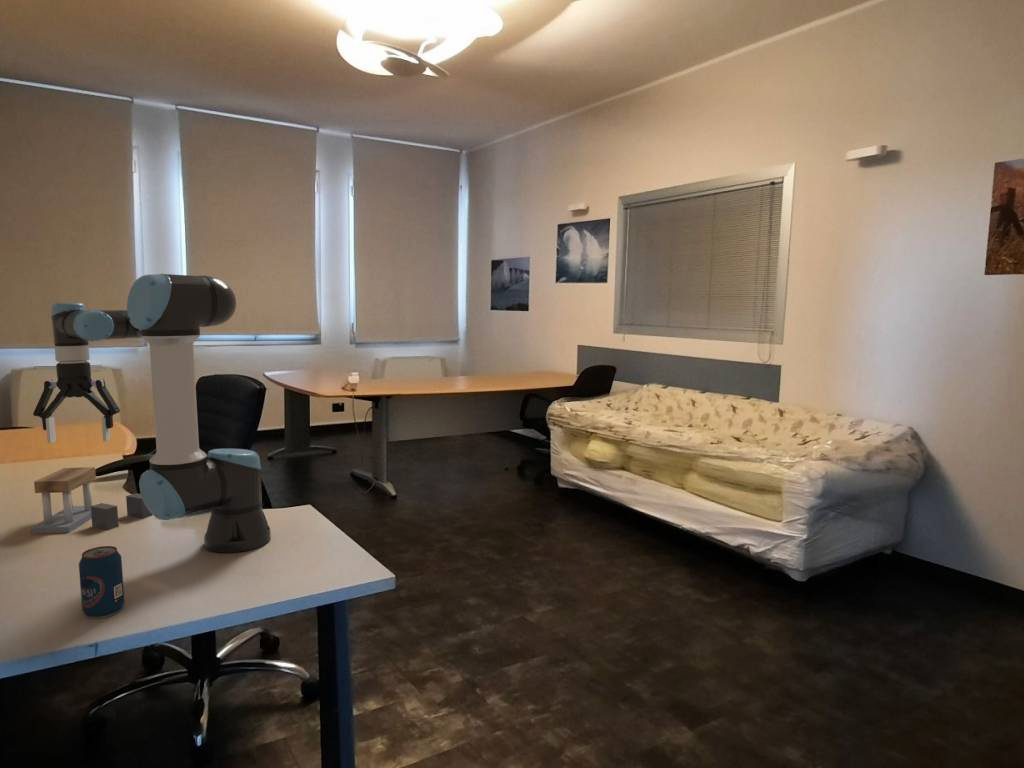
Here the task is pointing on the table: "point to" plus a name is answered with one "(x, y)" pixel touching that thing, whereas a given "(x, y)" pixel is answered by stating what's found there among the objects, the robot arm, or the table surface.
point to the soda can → (101, 582)
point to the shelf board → (64, 480)
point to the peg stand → (64, 513)
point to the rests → (108, 514)
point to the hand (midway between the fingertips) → (79, 441)
